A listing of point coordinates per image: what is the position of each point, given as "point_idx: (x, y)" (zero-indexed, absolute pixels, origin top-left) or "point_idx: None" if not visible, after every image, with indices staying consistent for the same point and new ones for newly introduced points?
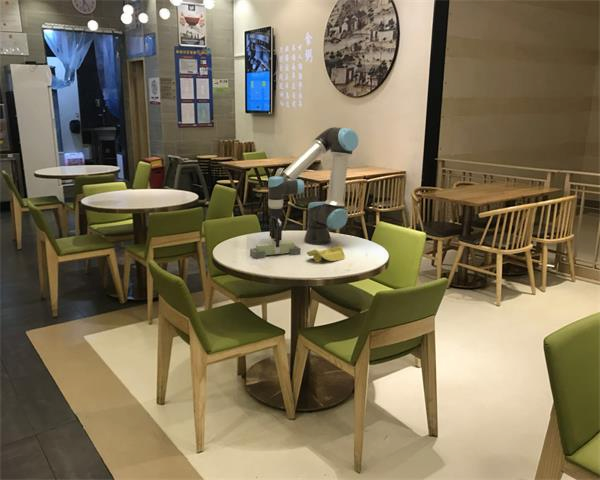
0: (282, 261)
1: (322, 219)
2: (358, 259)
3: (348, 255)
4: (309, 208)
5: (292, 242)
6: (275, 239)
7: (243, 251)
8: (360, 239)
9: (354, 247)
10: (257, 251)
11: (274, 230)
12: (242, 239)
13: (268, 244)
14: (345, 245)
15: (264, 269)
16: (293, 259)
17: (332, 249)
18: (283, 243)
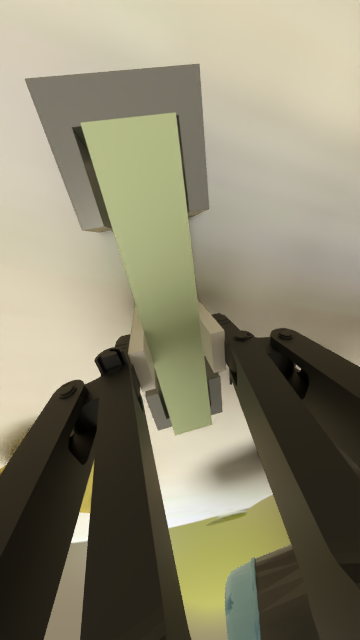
0: (19, 328)
1: (301, 631)
2: (85, 514)
3: None
4: None
5: (189, 426)
6: (112, 374)
7: (307, 81)
8: (266, 496)
9: (206, 497)
10: (66, 136)
11: (265, 448)
12: None
13: (158, 282)
14: (230, 484)
15: None
16: (71, 378)
17: None
18: (175, 388)
